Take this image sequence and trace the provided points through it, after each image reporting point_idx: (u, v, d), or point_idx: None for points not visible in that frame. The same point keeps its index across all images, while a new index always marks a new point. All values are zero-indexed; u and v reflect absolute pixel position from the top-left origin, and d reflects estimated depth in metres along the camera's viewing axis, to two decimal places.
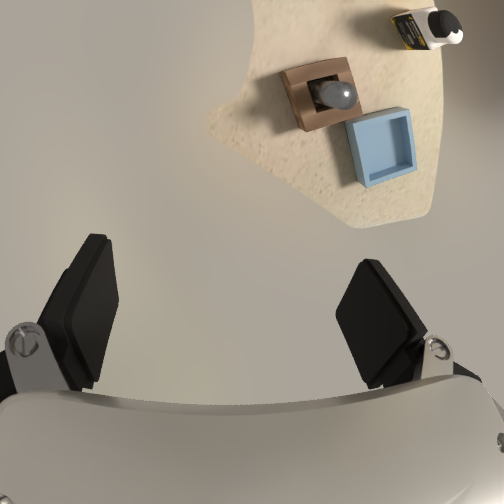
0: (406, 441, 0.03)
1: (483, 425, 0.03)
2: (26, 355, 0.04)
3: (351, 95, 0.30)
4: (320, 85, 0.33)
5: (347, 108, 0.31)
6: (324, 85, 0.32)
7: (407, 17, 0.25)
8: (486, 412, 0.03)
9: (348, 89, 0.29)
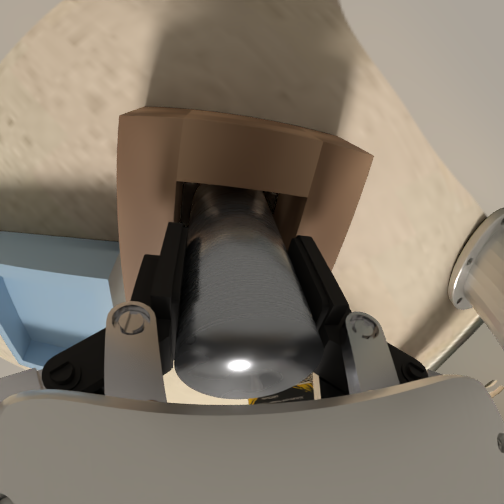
0: (406, 441, 0.03)
1: (483, 425, 0.03)
2: (126, 332, 0.06)
3: (236, 386, 0.07)
4: (283, 244, 0.10)
5: (181, 364, 0.07)
6: (294, 270, 0.09)
7: None
8: (486, 412, 0.03)
9: (268, 382, 0.08)
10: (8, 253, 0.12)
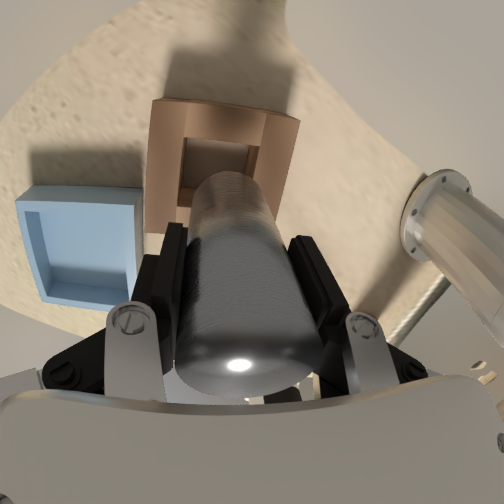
0: (406, 441, 0.03)
1: (483, 425, 0.03)
2: (127, 332, 0.06)
3: (237, 385, 0.07)
4: (283, 244, 0.10)
5: (181, 364, 0.07)
6: (294, 270, 0.09)
7: None
8: (486, 412, 0.03)
9: (269, 382, 0.08)
10: (55, 196, 0.19)
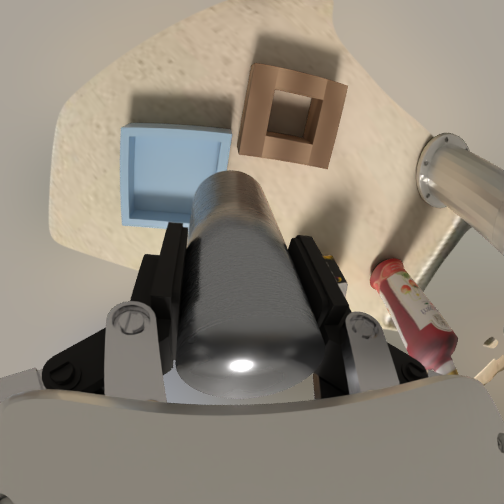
0: (406, 441, 0.03)
1: (483, 425, 0.03)
2: (126, 332, 0.06)
3: (238, 385, 0.07)
4: (284, 243, 0.10)
5: (182, 364, 0.07)
6: None
7: (340, 276, 0.37)
8: (486, 412, 0.03)
9: (270, 382, 0.08)
10: (160, 126, 0.26)
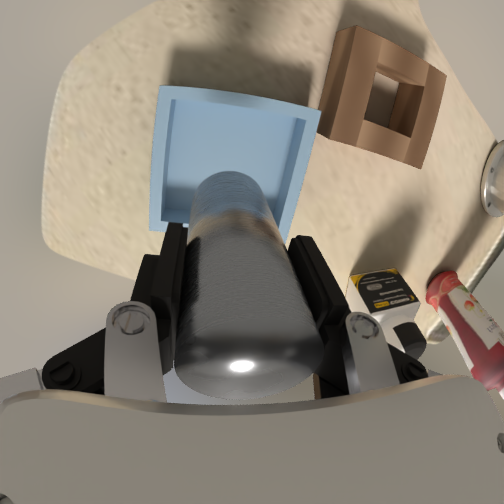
0: (406, 441, 0.03)
1: (483, 425, 0.03)
2: (126, 332, 0.06)
3: (237, 386, 0.07)
4: (283, 244, 0.10)
5: (181, 365, 0.07)
6: None
7: (412, 294, 0.29)
8: (486, 412, 0.03)
9: (269, 383, 0.08)
10: None
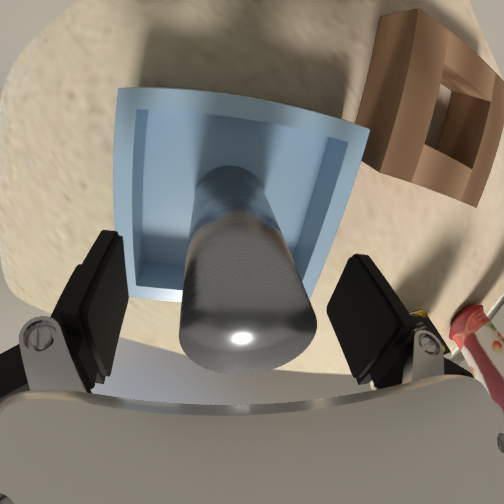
0: (406, 441, 0.03)
1: (483, 425, 0.03)
2: (39, 349, 0.05)
3: (236, 360, 0.08)
4: (280, 231, 0.11)
5: (185, 335, 0.07)
6: (290, 253, 0.10)
7: (442, 344, 0.22)
8: (486, 412, 0.03)
9: (266, 356, 0.08)
10: None
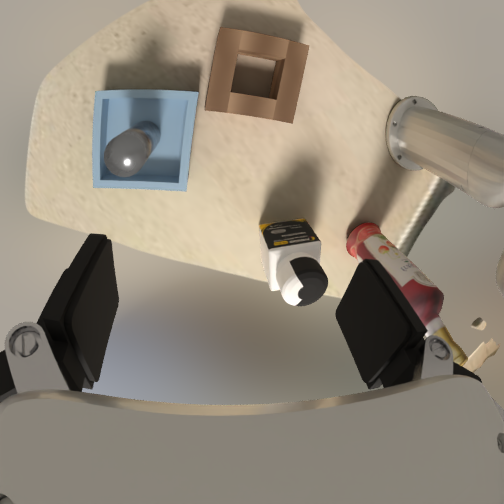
0: (406, 441, 0.03)
1: (483, 425, 0.03)
2: (26, 355, 0.04)
3: (121, 167, 0.22)
4: (150, 135, 0.25)
5: (105, 155, 0.21)
6: (148, 138, 0.24)
7: (313, 236, 0.37)
8: (486, 412, 0.03)
9: (131, 165, 0.22)
10: None
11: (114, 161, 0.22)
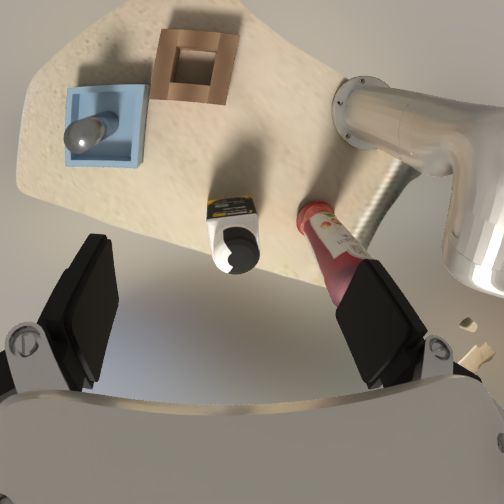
0: (406, 441, 0.03)
1: (483, 425, 0.03)
2: (26, 355, 0.04)
3: (76, 146, 0.25)
4: (103, 121, 0.28)
5: (64, 137, 0.24)
6: (99, 123, 0.27)
7: (252, 209, 0.39)
8: (486, 412, 0.03)
9: (82, 144, 0.25)
10: None
11: (71, 141, 0.25)
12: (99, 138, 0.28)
